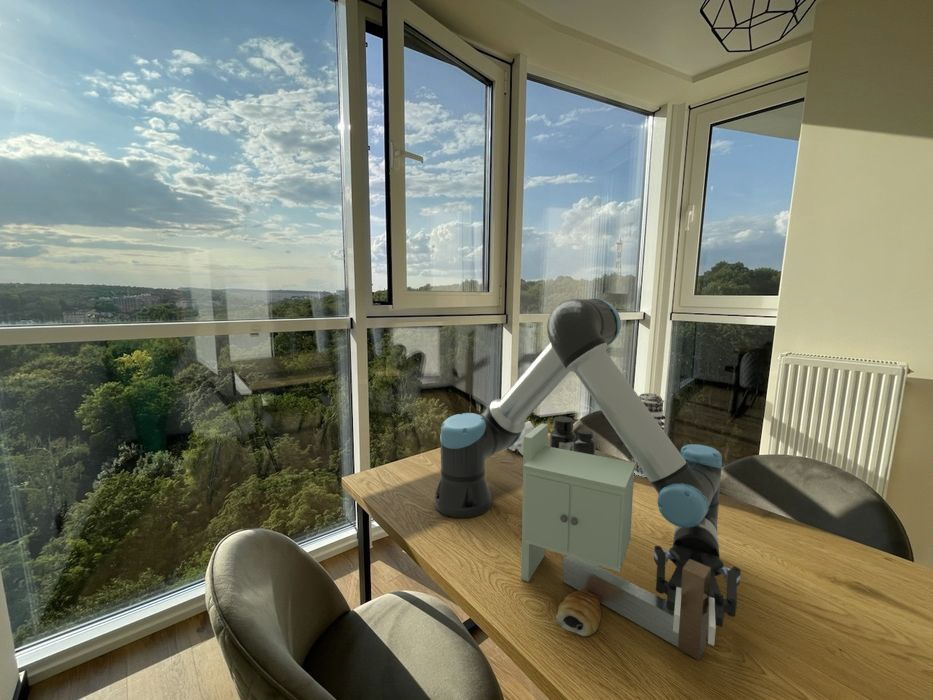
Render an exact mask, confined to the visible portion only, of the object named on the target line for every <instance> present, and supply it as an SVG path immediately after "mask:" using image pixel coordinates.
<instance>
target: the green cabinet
mask: <svg viewBox="0 0 933 700" xmlns="http://www.w3.org/2000/svg"><path fill="white" fill-rule="evenodd" d="M548 435H549V424H548V423H541V422H540V424H538V425H537V426H535V427H534V429H533V430H532V431H530V432H529V433H528V434H526V435H525V436H524V447H523V455H522V456H523V457H522V461H523V463H522V510H521V512H522V514H521V515H522V516H521V518H522V519H521V558H520V559H521V561H520V563H521V564H520V565H521V567H520V570H521V571H520V573H521V574H520V580H522V581H525V582H527V583H528V582H529V581H530V580H531V579H532V577H533V575H534V573H535V572H536V570H537V568H538V567H539V566H540V564H541V562H542V560H544V557H545V555H546V553H545V552H546V550H548V551H552V552H555V553H556V554H557V553H558V554H561V555H565V556H566V555H567V556H570V557H573V558H576V559H579V560H583V561H586V562H589V563H592V564H595V565H597V566H599V567H601V568H604V569H605V568H606V569H608V570H611V571H615V572H618V573H620V572H621V570H622V567H623V564H624V561H625V557H626V554H627V550H628V548H629V544H630V542H631V541H630V540H631V535H632V534H631V533H632V519H633V518H632V514H633V498H634V497H633V496H634V481H635V480H634V475H635V474H634V470H635V467H636V463H634V462H632V461H629V460H628V461H627V460H622V459H616V458H610V457H606V456H601V455H596V454H595V455H591V454H586V453H580V452H575V451H569V450H564V449H559V448H553V447H550V446H549V444H548V443H549V436H548Z"/></svg>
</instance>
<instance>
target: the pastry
mask: <svg viewBox="0 0 933 700" xmlns="http://www.w3.org/2000/svg"><path fill="white" fill-rule="evenodd" d="M562 600H563V601H561V602H560V603H559V605H558V610H557V614H556V615H555V621H556V623H557V625H558V626H559V627H561V629H564V630H565V631H568V632H572V633H575V634H577V635H579V636H582V637H589V636H592V635H594V634H596V632H597V631H598V629H599V624H600V622H601V619H602V618H601V617H602V616H601V615H602V612H601V605H600V604H601V603H600V602H599V599H598V597H597V596H596V595H594V594H592V593H590V592H589V591H587V590H574V591H572V592H570V593H569V594H568V595H567V596H565V597H564V599H562Z"/></svg>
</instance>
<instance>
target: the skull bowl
mask: <svg viewBox="0 0 933 700" xmlns="http://www.w3.org/2000/svg"><path fill="white" fill-rule="evenodd" d="M534 428H535V427H534V425H533V424H532V422H531V421H529V420H528V421H525V427H524V429H523V431H522V432H521V435H520V438H519V439H518V440H517V442H515V443H514V444H513V445H512V446H511V447H509V448H508V449H509V450H511V451H513V452H515V451H516V450H518V451H519V453H520V454H521V455H522V456H523V447H524V436H525V435H526V434H528V433H529V432H530V431H532V430H533V429H534Z"/></svg>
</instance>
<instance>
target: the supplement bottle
mask: <svg viewBox="0 0 933 700" xmlns="http://www.w3.org/2000/svg"><path fill="white" fill-rule="evenodd" d="M593 435H594V433H593V431H592V430H588V429H578V430H577V432H576V439H575V440H574V448H573V451H575V452H580V453H586V454H591V455H596V446H597V445H596V442H595V440H594V439H593V438H594V436H593Z"/></svg>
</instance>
